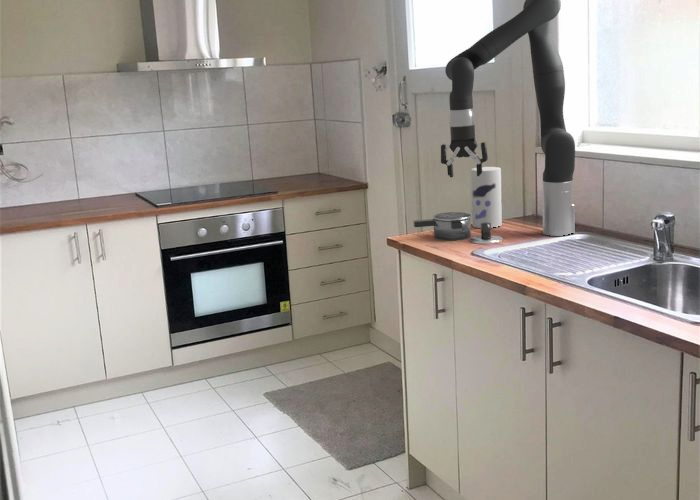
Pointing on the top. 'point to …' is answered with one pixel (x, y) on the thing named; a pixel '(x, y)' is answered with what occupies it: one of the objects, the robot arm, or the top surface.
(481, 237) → the lid
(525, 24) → the robot arm
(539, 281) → the top surface
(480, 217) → the container
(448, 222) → the pot
